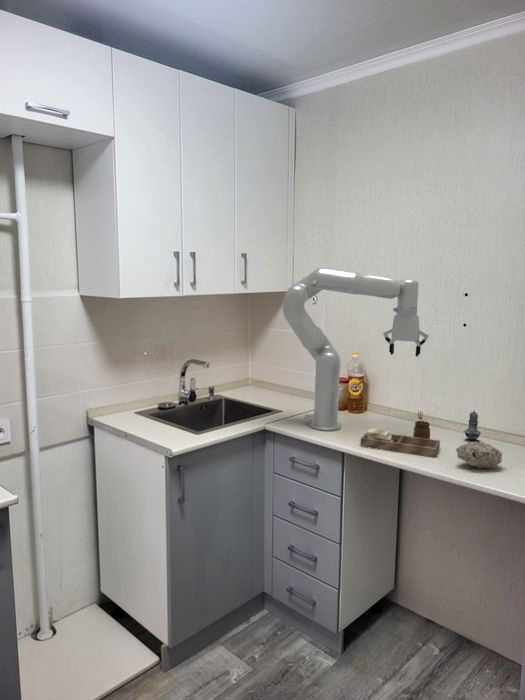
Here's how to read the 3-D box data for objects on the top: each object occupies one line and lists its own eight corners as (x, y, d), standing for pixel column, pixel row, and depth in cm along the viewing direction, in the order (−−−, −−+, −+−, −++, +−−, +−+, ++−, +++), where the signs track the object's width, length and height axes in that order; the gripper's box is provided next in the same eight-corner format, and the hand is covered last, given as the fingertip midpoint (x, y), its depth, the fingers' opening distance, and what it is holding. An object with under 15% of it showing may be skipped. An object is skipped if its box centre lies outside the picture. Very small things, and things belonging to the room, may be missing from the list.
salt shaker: (481, 443, 200) (484, 412, 198) (464, 442, 201) (467, 411, 200) (478, 439, 206) (481, 408, 204) (462, 438, 207) (464, 407, 205)
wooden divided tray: (360, 446, 194) (360, 438, 194) (367, 438, 204) (368, 430, 204) (435, 457, 183) (436, 449, 183) (439, 448, 193) (440, 440, 193)
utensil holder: (431, 440, 203) (433, 409, 201) (426, 444, 198) (428, 412, 196) (416, 437, 206) (418, 406, 205) (410, 441, 201) (412, 409, 200)
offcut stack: (363, 446, 194) (364, 432, 194) (368, 441, 201) (369, 427, 200) (389, 450, 191) (390, 435, 190) (392, 445, 197) (393, 430, 196)
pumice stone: (473, 475, 168) (475, 450, 167) (446, 462, 179) (448, 439, 178) (506, 469, 173) (508, 445, 172) (479, 458, 184) (480, 435, 183)
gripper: (382, 311, 210) (380, 354, 212) (428, 313, 203) (425, 358, 205) (386, 310, 217) (384, 352, 219) (431, 312, 210) (428, 355, 212)
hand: (404, 355), depth 212 cm, fingers open, 9 cm apart
